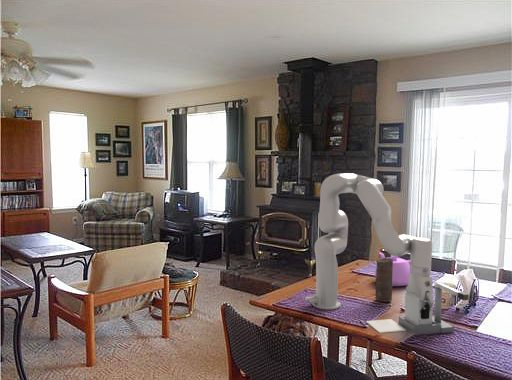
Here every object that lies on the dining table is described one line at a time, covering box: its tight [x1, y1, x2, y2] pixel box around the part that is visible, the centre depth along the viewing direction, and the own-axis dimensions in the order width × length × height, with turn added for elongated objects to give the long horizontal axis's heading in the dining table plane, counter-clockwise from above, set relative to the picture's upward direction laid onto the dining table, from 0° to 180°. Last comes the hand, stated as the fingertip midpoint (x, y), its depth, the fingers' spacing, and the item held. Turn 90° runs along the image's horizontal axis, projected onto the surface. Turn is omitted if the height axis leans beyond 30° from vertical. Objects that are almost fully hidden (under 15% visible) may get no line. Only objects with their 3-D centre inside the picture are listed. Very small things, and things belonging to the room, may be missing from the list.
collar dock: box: [398, 287, 455, 336], centre depth 158 cm, size 16×12×15 cm
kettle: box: [374, 252, 410, 288], centre depth 219 cm, size 23×21×15 cm
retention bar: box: [433, 281, 470, 301], centre depth 152 cm, size 17×3×2 cm, turn 12°
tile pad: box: [366, 318, 407, 334], centre depth 159 cm, size 11×11×1 cm
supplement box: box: [404, 292, 434, 326], centre depth 158 cm, size 7×7×13 cm
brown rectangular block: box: [375, 257, 393, 302], centre depth 188 cm, size 8×7×20 cm
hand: (418, 314), depth 158 cm, fingers closed on supplement box, 8 cm apart
